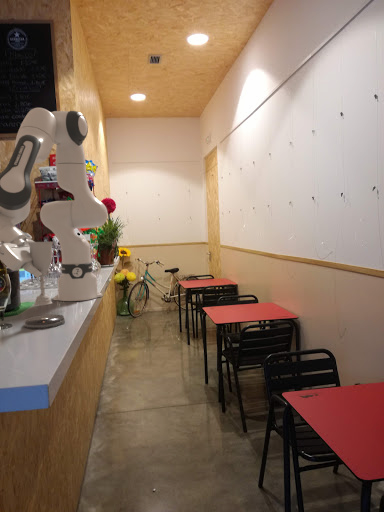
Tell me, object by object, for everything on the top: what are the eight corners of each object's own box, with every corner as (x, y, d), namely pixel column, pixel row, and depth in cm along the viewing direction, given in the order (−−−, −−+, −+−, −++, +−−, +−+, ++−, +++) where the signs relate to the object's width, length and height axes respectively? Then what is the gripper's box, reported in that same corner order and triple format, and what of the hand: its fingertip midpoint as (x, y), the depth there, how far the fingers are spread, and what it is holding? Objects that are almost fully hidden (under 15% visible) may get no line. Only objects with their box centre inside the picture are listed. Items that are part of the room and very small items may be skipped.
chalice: (61, 302, 112) (58, 241, 111) (43, 306, 106) (40, 242, 105) (43, 301, 115) (40, 241, 114) (24, 305, 109) (21, 242, 108)
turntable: (26, 321, 115) (26, 316, 115) (65, 318, 118) (64, 312, 118) (22, 330, 105) (22, 324, 104) (64, 326, 108) (64, 320, 108)
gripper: (-3, 234, 99) (36, 270, 100) (31, 233, 120) (63, 263, 120) (-19, 251, 100) (20, 287, 100) (17, 248, 120) (50, 278, 120)
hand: (44, 274), depth 110 cm, fingers closed on chalice, 5 cm apart
